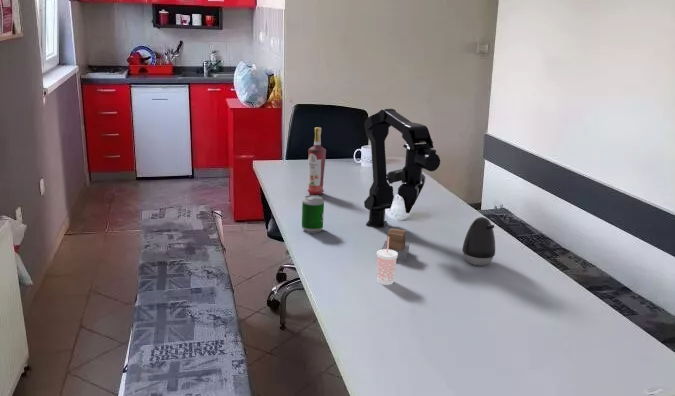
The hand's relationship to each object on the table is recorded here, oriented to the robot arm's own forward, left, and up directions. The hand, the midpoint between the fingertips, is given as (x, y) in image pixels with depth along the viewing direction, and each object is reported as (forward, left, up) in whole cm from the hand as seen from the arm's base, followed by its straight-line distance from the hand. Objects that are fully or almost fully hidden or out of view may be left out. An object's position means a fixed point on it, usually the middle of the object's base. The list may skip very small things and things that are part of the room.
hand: (410, 208), depth 211 cm
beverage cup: (+33, -1, -13) cm, 35 cm away
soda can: (0, -34, -13) cm, 36 cm away
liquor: (-42, -46, -13) cm, 64 cm away
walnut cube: (+12, -2, -9) cm, 15 cm away
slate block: (+12, -2, -13) cm, 18 cm away
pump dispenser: (+8, +24, -13) cm, 28 cm away
